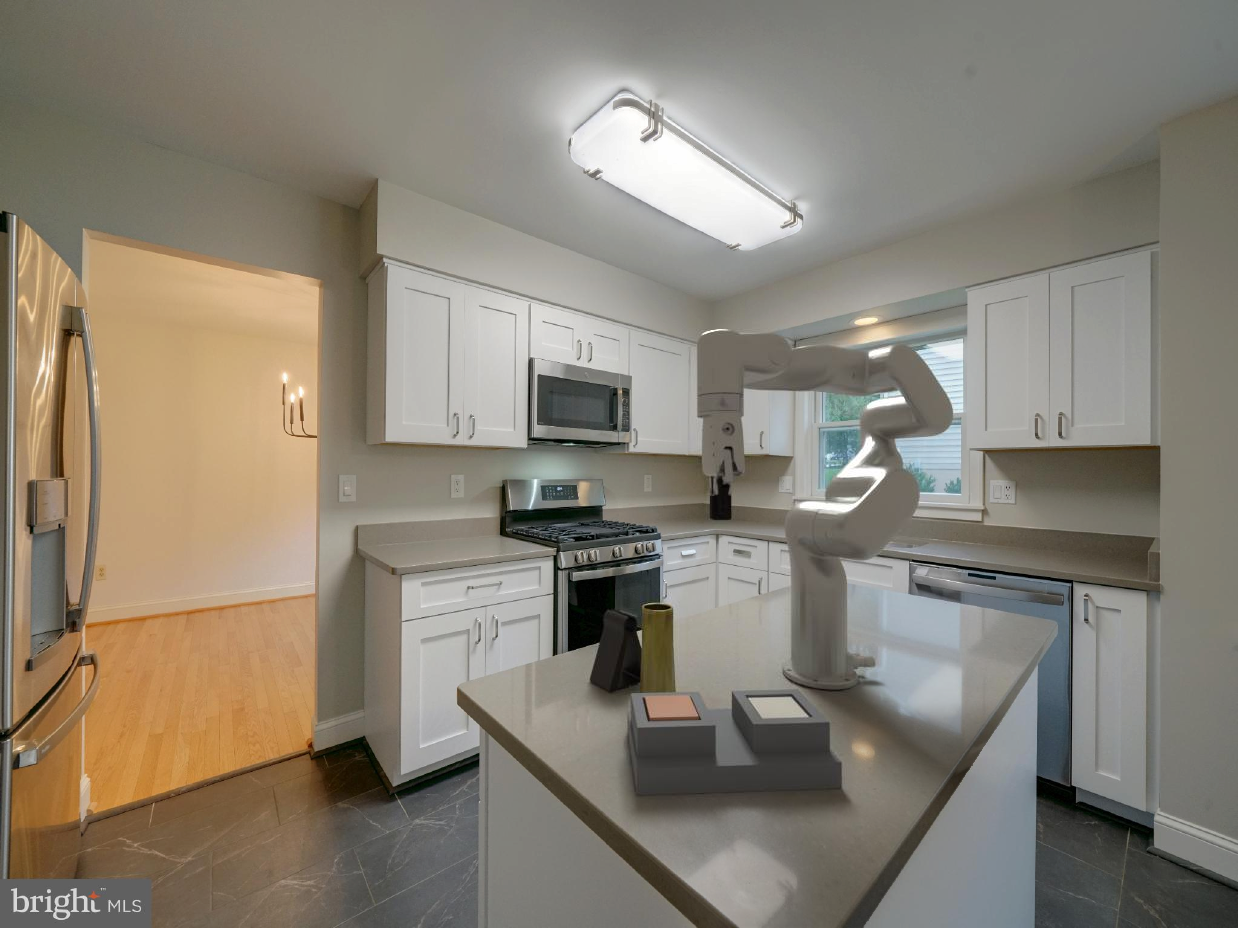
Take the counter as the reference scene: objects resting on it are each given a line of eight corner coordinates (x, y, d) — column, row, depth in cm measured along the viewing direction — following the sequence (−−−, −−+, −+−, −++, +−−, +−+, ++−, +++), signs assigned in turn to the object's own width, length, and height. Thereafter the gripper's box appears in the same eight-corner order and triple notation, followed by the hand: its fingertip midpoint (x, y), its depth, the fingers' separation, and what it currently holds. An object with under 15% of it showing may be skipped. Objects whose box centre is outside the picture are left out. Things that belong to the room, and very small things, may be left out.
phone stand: (609, 693, 85) (609, 621, 85) (589, 681, 90) (589, 613, 90) (650, 680, 90) (650, 612, 90) (629, 669, 95) (629, 605, 95)
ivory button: (791, 718, 69) (790, 696, 69) (810, 742, 63) (810, 717, 63) (747, 720, 69) (747, 697, 69) (762, 743, 63) (762, 719, 63)
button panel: (793, 727, 73) (793, 682, 73) (841, 787, 59) (841, 731, 59) (627, 732, 72) (627, 686, 72) (636, 795, 58) (636, 737, 58)
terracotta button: (689, 717, 68) (689, 694, 69) (698, 740, 62) (698, 716, 63) (644, 718, 68) (644, 695, 68) (650, 742, 62) (650, 717, 62)
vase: (665, 703, 81) (665, 613, 81) (632, 694, 84) (632, 608, 85) (682, 689, 86) (681, 605, 86) (650, 681, 89) (650, 600, 90)
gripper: (757, 401, 76) (758, 524, 76) (730, 413, 91) (730, 515, 91) (708, 401, 76) (708, 524, 76) (688, 413, 91) (689, 515, 91)
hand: (720, 519), depth 83 cm, fingers closed
